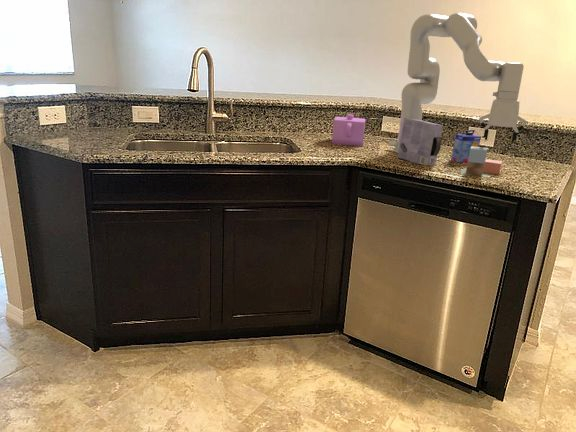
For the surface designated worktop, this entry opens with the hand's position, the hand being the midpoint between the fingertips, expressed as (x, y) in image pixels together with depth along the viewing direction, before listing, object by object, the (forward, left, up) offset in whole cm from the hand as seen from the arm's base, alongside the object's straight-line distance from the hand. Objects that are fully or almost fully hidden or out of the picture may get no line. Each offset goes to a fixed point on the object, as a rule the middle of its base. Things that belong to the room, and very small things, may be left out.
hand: (499, 141), depth 185 cm
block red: (0, 0, -13) cm, 13 cm away
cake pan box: (-30, +1, -13) cm, 33 cm away
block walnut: (-6, -9, -12) cm, 16 cm away
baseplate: (-6, -8, -13) cm, 17 cm away
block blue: (-6, -9, -7) cm, 13 cm away
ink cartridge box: (-12, +14, -13) cm, 23 cm away
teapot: (-69, +27, -14) cm, 75 cm away
